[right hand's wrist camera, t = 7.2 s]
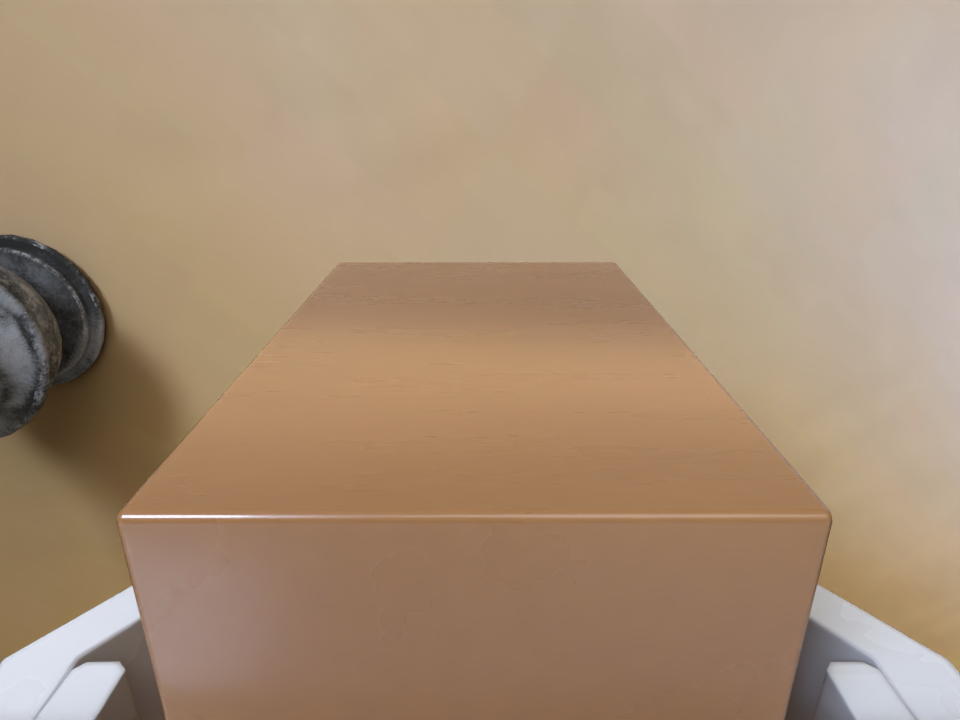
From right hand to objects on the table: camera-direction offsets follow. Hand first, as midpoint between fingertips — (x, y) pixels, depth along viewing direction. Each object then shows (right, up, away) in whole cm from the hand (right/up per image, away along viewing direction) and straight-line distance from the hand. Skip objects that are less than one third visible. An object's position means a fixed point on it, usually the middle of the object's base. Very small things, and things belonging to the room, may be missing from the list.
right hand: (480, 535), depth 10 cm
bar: (0, -6, +6) cm, 8 cm away
